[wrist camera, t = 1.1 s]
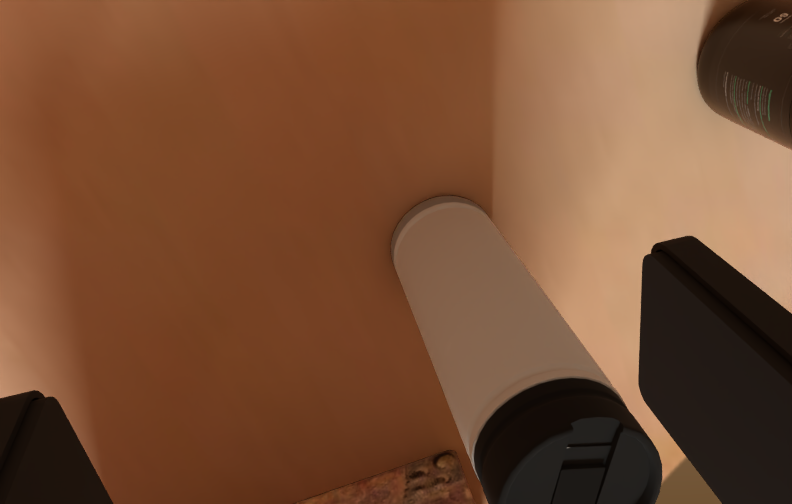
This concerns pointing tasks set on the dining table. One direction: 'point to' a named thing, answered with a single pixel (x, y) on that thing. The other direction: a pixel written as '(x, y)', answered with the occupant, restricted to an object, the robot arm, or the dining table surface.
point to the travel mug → (516, 369)
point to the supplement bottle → (751, 68)
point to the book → (407, 485)
